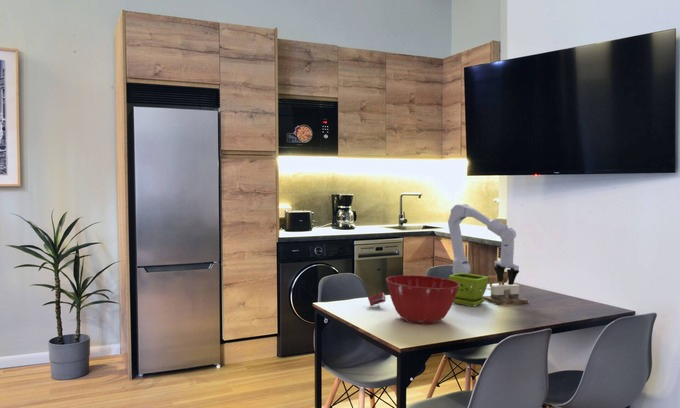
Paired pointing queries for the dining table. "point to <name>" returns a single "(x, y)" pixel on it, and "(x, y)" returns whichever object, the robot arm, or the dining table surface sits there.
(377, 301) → the geometric puzzle
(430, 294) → the mixing bowl
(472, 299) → the flower pot
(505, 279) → the lion figurine
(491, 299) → the brown rectangular board
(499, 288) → the cream bar
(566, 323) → the dining table surface
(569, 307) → the dining table surface
